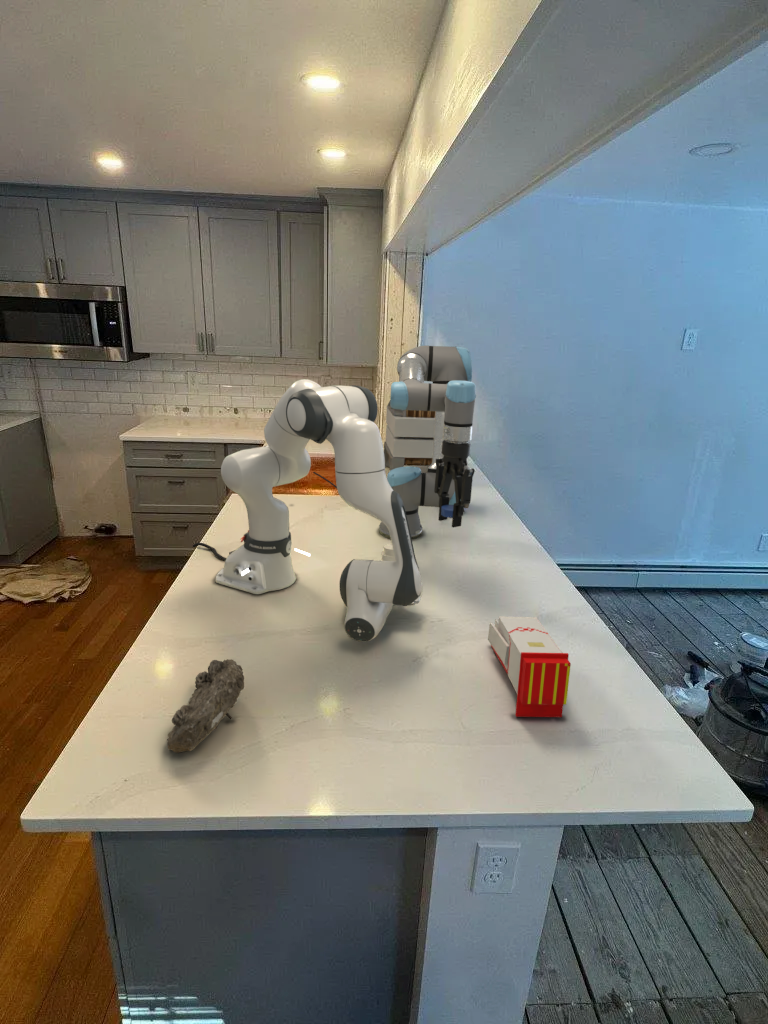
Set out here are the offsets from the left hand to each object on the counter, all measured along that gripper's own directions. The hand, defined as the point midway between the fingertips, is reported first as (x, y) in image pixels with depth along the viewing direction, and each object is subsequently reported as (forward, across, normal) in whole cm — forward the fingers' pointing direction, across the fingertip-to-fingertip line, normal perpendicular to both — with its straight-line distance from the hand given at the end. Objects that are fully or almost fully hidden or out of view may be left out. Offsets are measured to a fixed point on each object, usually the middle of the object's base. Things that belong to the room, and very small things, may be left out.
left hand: (389, 574), depth 154 cm
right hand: (+12, -14, -13) cm, 22 cm away
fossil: (-57, +21, +7) cm, 61 cm away
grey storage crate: (+126, +15, +7) cm, 127 cm away
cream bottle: (-1, 0, +7) cm, 7 cm away
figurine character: (+81, -9, +7) cm, 82 cm away
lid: (+12, -14, -17) cm, 25 cm away
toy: (-26, -36, +7) cm, 45 cm away
